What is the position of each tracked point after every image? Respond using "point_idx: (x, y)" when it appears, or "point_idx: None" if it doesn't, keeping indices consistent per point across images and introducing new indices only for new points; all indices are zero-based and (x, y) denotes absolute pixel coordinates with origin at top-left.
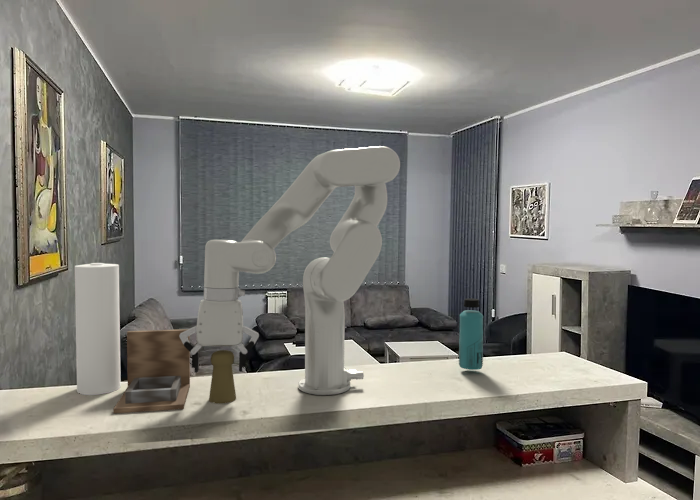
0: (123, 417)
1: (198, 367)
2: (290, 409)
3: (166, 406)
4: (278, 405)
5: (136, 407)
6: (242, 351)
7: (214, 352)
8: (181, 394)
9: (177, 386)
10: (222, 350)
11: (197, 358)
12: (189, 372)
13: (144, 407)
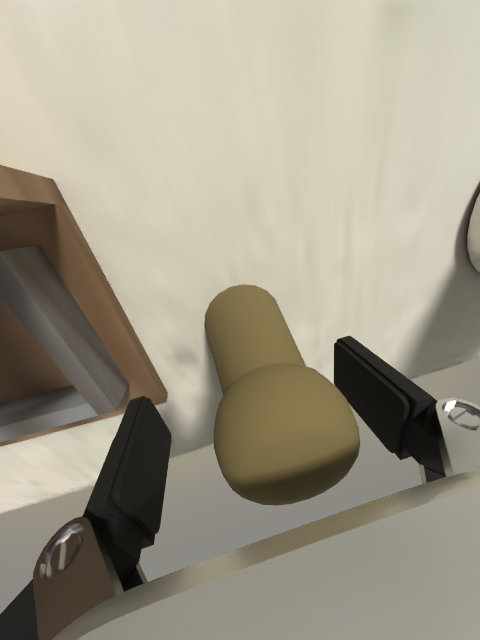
0: (56, 445)
1: (156, 423)
2: (396, 364)
3: (125, 410)
4: (377, 347)
5: (53, 431)
6: (428, 470)
7: (246, 493)
8: (112, 338)
9: (96, 379)
10: (300, 475)
11: (157, 511)
12: (6, 197)
13: (73, 425)
